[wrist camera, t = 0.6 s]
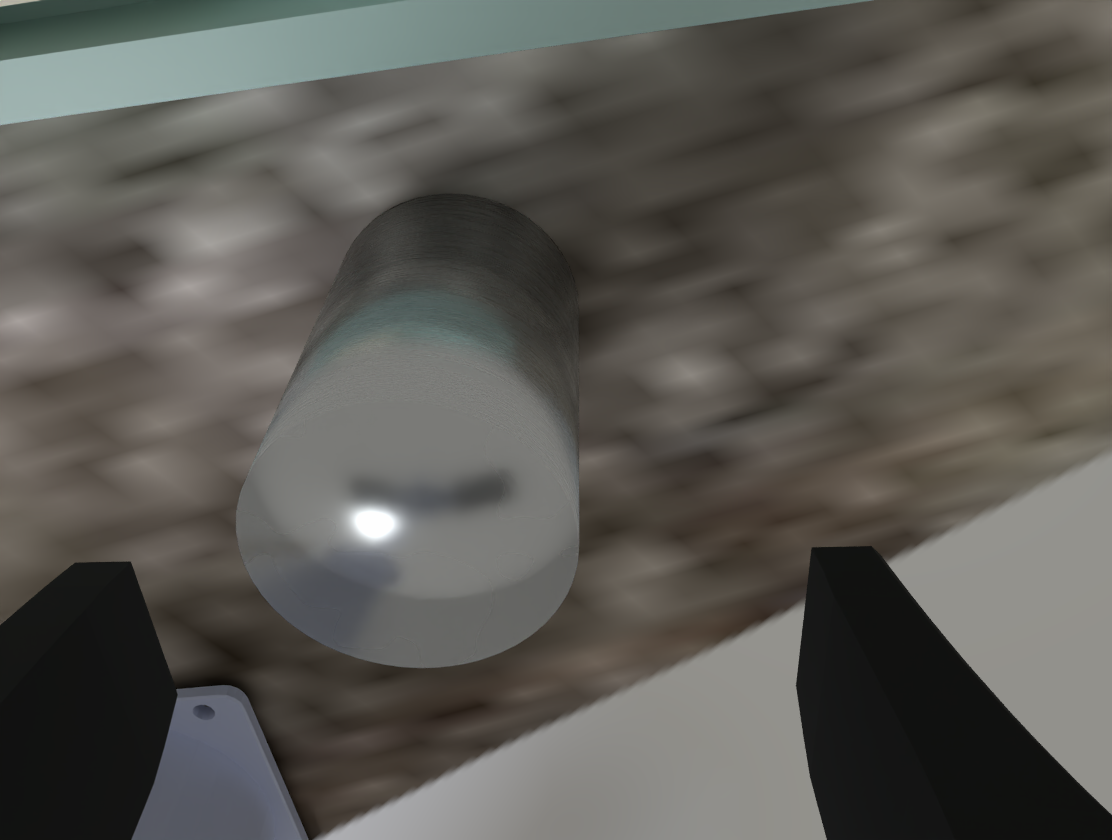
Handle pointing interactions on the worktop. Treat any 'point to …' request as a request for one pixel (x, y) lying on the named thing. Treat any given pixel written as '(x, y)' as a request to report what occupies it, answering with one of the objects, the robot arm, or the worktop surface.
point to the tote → (292, 41)
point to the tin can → (426, 444)
